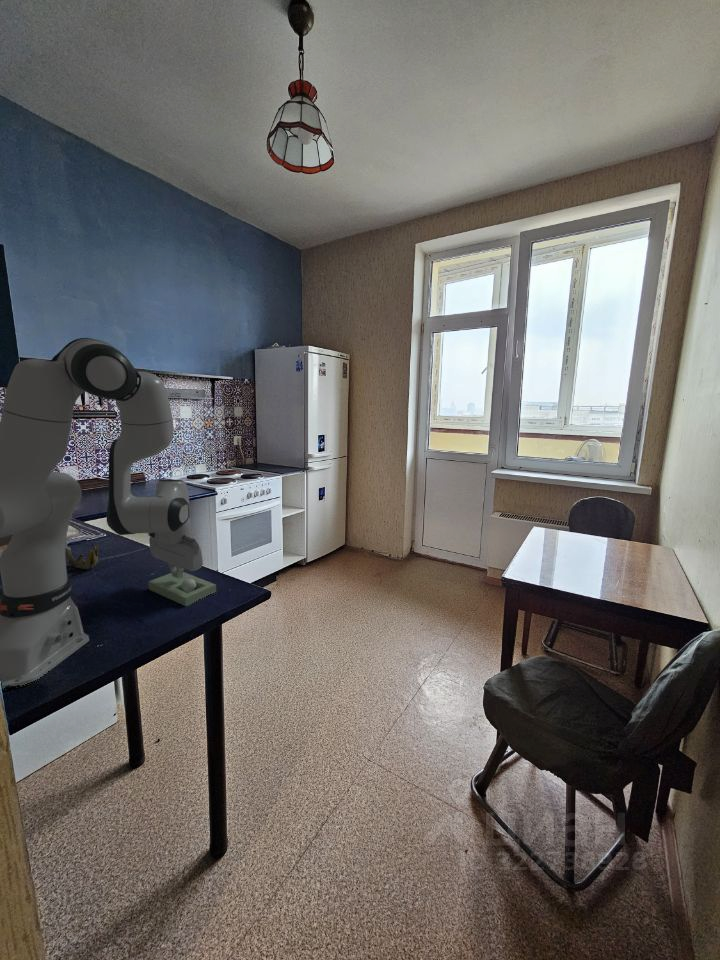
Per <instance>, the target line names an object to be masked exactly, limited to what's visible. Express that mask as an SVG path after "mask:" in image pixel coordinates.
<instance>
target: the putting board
mask: <svg viewBox="0 0 720 960" xmlns="http://www.w3.org/2000/svg"><path fill="white" fill-rule="evenodd" d="M186 579H193V580H194V581H195V582H196V589H195V590H194V591H192V592H190V593H186V592H184V591H183V590H182V588H181V585H182V583H183V581H184V580H186ZM147 583H148V584H147V585H148V590H150V591H151V592H154V593H156V594H158V595H160V596H162V597H164V598H167V599H169V600H171V601H173V602H175V603H178V604H181V605H182V606H184V607H189V606H190V605H192V603H193V604H195V603H196V601H197V602H198V600H199V599H201V600H203V599H205V598H207V597H206V596H208V595H210V594H212V595H214V594H216V593H217V584H215V583H213V582H210V581H208V580H205V579H202V578H199V577H197V576H195V575H193V574H191V573H187V572H184V571H183V577H182V578H180V579H178V578H175V577H173V576H172V573H171V572H170V573H167V574H165V575H161V576H160V577H157V578H154V579H151V580H148V582H147ZM215 592H216V593H215ZM213 593H214V594H213ZM210 596H211V595H210ZM204 597H205V598H204ZM208 597H209V596H208ZM202 598H203V599H202ZM199 601H200V600H199ZM194 602H195V603H194Z"/></svg>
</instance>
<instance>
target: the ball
mask: <svg viewBox="0 0 720 960" xmlns="http://www.w3.org/2000/svg"><path fill="white" fill-rule="evenodd" d="M181 588H182V590H183V591H184V592H186V593H190V592H192V591H194V590H196V589H195V588H196V582H195V581H194V580H193V579H186V580H184V581H183V583H182V585H181Z"/></svg>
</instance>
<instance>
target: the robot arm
mask: <svg viewBox="0 0 720 960" xmlns="http://www.w3.org/2000/svg"><path fill="white" fill-rule="evenodd" d="M84 393H88V394H90V395H92V396H94V397H97V398H103V399H109V400H114V401H115V402H116V405H117V408H118V410H119V411H118V412H119V417H120V424H121V425H120V426H121V427H120V428H121V429H120V434H119V436H118V438H116V439H115V440H112V442H111V445H110V448H109V454H108V502H107V509H106V525H107V526H108V527H109V528H110V529H111V530H112V531H113V532H114V533H115V534H117V535H119V536H126V535H127V536H128V535H136V534H147V536H149V539H148V541H149V550H150V554H151V557H152V558H155V559H158V560H160V561H162V562H165V563H167V564H168V567H169V569H170V573H172V576H173V577H175V578H178V579H180V578H182V577H183V572H184V571H185V570H187V571H190V572H194V571H197V570H200V569H201V568H202V567H203V565H204V563H203V562H204V561H203V554H202V549H201V546H200V544H199V542H197V540H196V539H195V538H193V537H192V524H191V523H192V522H191V519H190V508H191V507H190V504H191V503H190V496H189V489H188V486H187V483H186V481H185V480H183V479H160V480H158V481H157V482H156V487H155V496H135V495H133V494H132V492H131V489H132V488H131V486H132V485H131V482H132V481H131V477H132V476H131V475H132V466H133V465H134V463H137V462H140V461H142V460H145V459H148V458H150V457H153V456H156V455H158V454H160V453H161V452H163V451H164V450H166V449H167V448H168V447H169V446H170V445H171V443H172V441H173V439H174V420H173V413H172V408H171V403H170V400H169V396H168V393H167V389H166V387H165V384H164V382H163V380H162V379H161V378H160V377H159V376H158V375H156V374H153V373H152V372H146V371H139V370H137V369H136V368H135V366H134V365H133V364H132V363H131V361H130V360H129V359H128V358H127V356H125V355H124V353H122V351H120V350H119V349H117V348H115V347H114V346H112V345H111V344H110V343H108V342H106V341H103V340H100V339H95V338H93V337H92V338H91V337H79V338H76V339H73V340H72V341H70V342H68V343H67V344H66V345H65V346H63V348H62V349H61V350H60V351H59V352H57V354H55V355H54V356H53V357H52V358H51V360H47V359H42V358H41V359H40V358H30V359H25V360H21V361H20V362H18V363H17V364H16V365H15V367H14V369H13V370H12V373H11V375H10V378H9V381H8V384H7V388H6V389H5V393H4V399H3V403H2V410H1V417H0V538H5V537H9V536H11V538H10V540H9V543H8V544H7V546H6V547H5V549H3V551H2V552H1V555H0V576H1V577H0V578H1V584H2V585H1V586H2V590H3V591H2V593H1V594H0V679H1V681H2V688H3V690H4V688H5V687H6V686H8V685H9V686H17V685H20V687H23V686H22V685H24V686H26V685H25V684H27V683H30V682H33V681H35V680H36V681H38V680H39V679H41V678H42V677H43V676H45V675H46V674H47V673H49V672H50V671H52V670H53V669H54V668H56V667H57V666H58V665H59V664H61V663H62V662H63V661H65V660H66V659H67V658H68V657H69V656H72V654H74V653H75V652H76V651H78V650H79V649H80V648H81V647H83V646H84V645H86V644H87V643H89V641H90V638H89V635H88V634H87V633H85V632H84V628H83V624H82V620H81V615H80V612H79V609H78V606H77V605H76V604H75V603H74V601H73V599H72V597H71V596H72V594H73V592H72V587H73V586H72V583H71V579H70V578H69V577H68V572H67V571H68V569H67V562H66V561H67V557H66V555H65V542H66V539H67V535H68V530H69V526H70V522H71V519H72V516H73V513H74V511H75V510H76V507H77V506H78V505H79V503H80V502H81V499H82V497H83V496H82V487H81V485H80V483H79V482H78V480H77V479H76V478H74V477H73V476H72V475H70V474H69V473H65V472H61V471H60V472H59V471H53V470H55V467H56V466H58V464H60V462H62V460H63V459H64V458H65V456H66V455H67V451H68V445H69V441H70V440H69V439H70V434H71V429H72V422H73V414H74V408H75V405H76V402H77V400H78V398H80V396H81V395H82V394H84ZM48 671H49V672H48ZM44 674H45V675H44ZM40 677H41V678H40ZM37 679H38V680H37ZM36 681H35V682H36ZM33 683H34V682H33ZM30 684H31V683H30ZM27 685H28V684H27Z"/></svg>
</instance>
